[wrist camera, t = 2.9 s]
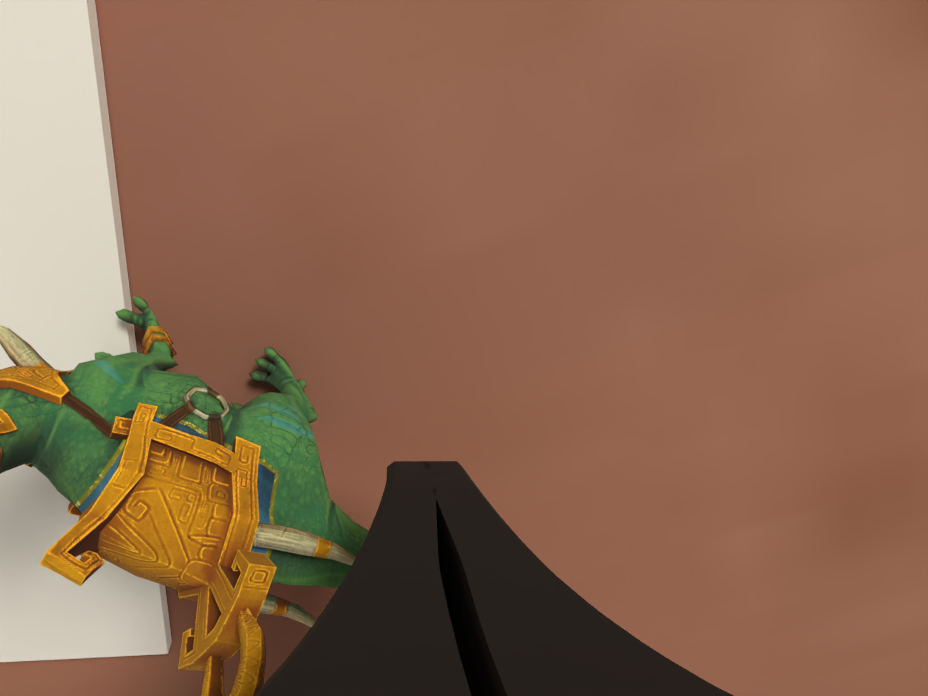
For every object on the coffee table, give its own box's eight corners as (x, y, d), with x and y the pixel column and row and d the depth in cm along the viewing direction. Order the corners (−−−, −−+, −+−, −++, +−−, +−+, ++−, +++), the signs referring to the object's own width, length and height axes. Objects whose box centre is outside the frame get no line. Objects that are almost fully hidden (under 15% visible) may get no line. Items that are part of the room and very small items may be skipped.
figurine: (-13, 204, 12) (-448, 490, 5) (486, 432, 17) (611, 728, 10) (-65, 332, 13) (-494, 724, 6) (424, 512, 18) (500, 835, 11)
